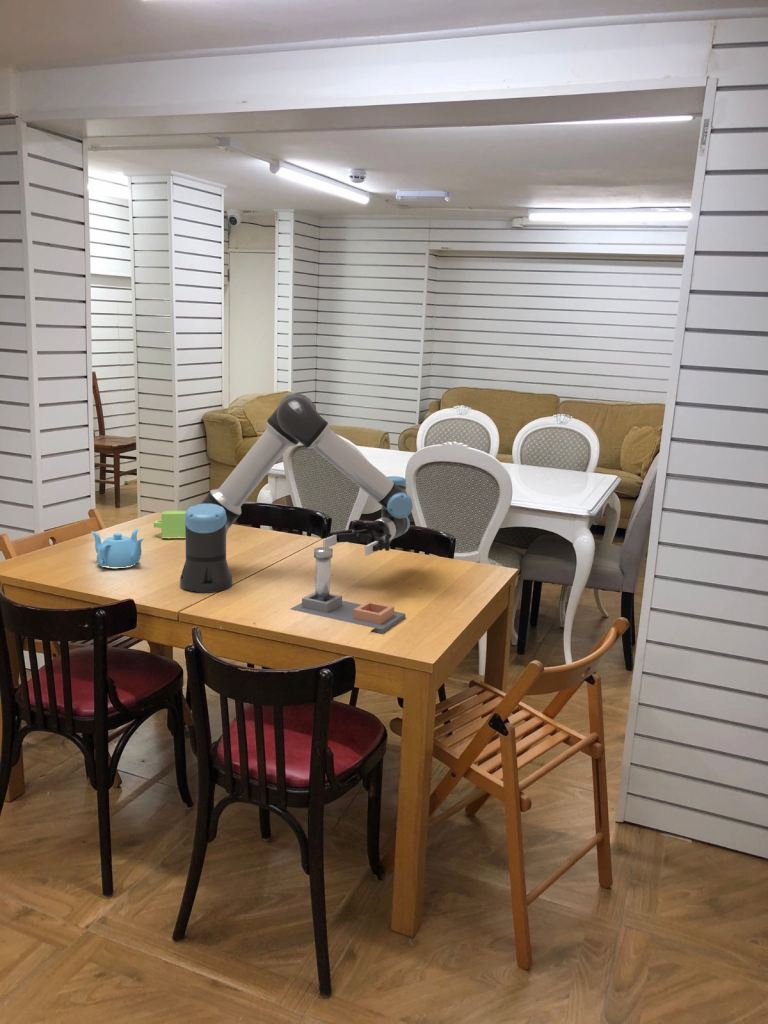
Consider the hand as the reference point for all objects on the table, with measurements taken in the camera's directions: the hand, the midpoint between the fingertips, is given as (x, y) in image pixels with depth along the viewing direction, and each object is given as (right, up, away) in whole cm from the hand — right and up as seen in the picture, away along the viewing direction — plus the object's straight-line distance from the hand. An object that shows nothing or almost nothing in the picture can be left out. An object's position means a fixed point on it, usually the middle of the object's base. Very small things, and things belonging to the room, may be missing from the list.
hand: (344, 547), depth 220 cm
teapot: (-73, -7, +29) cm, 79 cm away
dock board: (+1, -18, -10) cm, 20 cm away
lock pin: (-6, -16, -6) cm, 18 cm away
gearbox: (-64, +1, +66) cm, 92 cm away
